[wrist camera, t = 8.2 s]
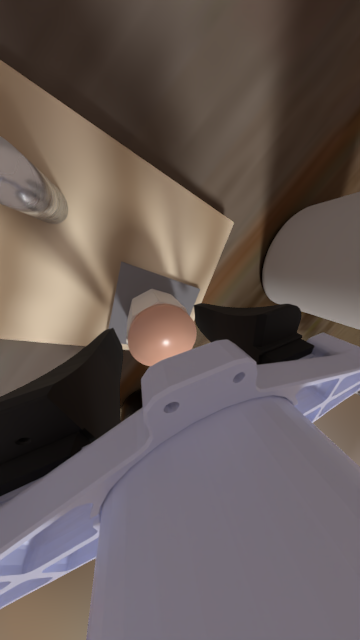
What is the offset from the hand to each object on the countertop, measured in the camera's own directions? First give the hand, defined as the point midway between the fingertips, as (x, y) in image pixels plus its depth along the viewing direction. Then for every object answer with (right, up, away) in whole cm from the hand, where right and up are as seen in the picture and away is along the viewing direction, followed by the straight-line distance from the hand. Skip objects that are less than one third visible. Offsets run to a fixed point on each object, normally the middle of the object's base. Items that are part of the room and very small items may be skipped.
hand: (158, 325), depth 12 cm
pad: (-1, +1, +2) cm, 3 cm away
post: (-7, +8, -3) cm, 11 cm away
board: (-5, +5, +1) cm, 7 cm away
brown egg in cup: (-1, +1, +2) cm, 2 cm away
